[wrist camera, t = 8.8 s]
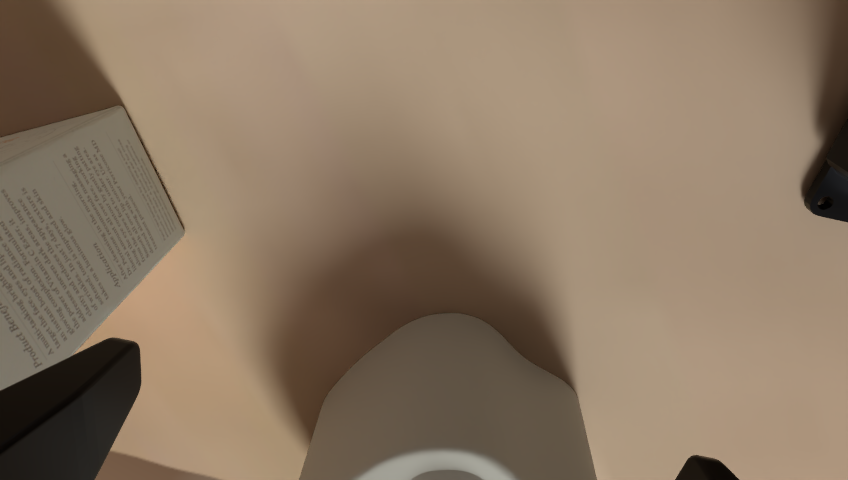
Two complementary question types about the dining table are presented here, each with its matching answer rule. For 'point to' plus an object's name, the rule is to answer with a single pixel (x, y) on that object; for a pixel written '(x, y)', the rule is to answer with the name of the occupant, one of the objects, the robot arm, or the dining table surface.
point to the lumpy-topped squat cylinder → (448, 412)
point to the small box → (73, 234)
